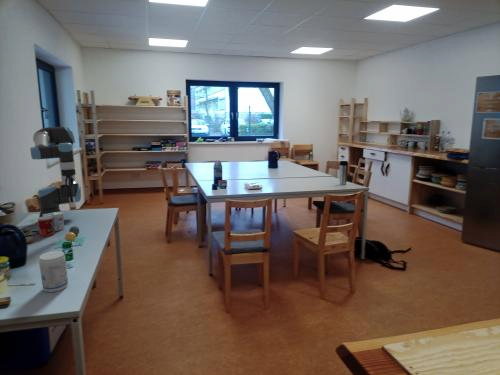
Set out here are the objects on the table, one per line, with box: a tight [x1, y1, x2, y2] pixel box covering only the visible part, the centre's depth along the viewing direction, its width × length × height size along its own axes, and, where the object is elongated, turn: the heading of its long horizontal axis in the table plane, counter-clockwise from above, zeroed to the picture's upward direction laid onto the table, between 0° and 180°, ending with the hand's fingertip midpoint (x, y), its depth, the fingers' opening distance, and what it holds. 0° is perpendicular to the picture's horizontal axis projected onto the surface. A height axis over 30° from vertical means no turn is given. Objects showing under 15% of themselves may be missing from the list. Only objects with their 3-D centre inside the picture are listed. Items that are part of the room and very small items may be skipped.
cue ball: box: [68, 225, 80, 235], centre depth 217 cm, size 6×6×6 cm
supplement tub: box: [38, 250, 69, 293], centre depth 150 cm, size 10×10×15 cm
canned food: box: [37, 216, 56, 238], centre depth 218 cm, size 8×8×11 cm
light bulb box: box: [43, 211, 65, 232], centre depth 227 cm, size 11×7×11 cm, turn 131°
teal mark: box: [54, 236, 86, 249], centre depth 205 cm, size 14×14×1 cm
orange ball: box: [64, 232, 77, 242], centre depth 206 cm, size 6×6×6 cm
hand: (72, 206), depth 219 cm, fingers closed
